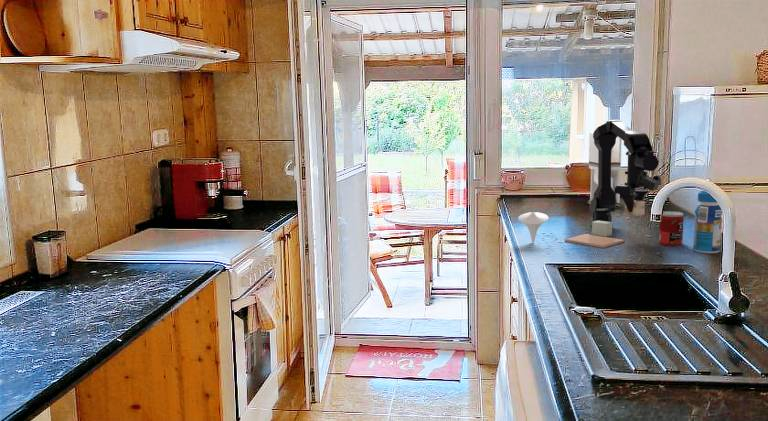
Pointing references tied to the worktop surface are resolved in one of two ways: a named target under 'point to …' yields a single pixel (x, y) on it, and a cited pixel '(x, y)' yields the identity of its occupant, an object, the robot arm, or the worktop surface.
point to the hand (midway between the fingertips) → (634, 211)
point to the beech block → (636, 208)
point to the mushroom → (533, 222)
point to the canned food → (671, 228)
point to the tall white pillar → (614, 166)
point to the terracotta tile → (594, 240)
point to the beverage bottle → (707, 224)
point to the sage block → (602, 228)
